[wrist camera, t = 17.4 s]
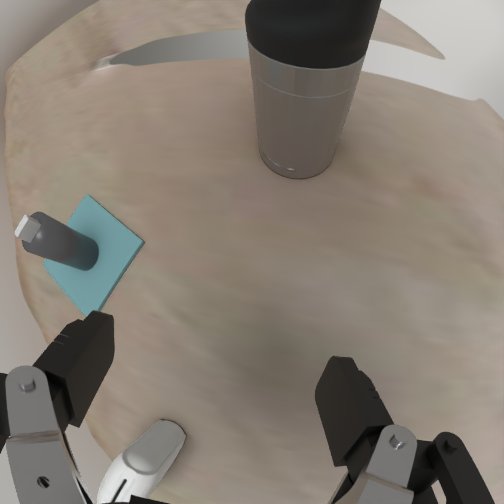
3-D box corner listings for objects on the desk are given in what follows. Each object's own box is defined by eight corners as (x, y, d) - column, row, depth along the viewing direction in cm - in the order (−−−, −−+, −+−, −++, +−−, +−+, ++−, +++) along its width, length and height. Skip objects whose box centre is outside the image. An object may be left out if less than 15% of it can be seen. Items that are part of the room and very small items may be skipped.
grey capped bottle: (86, 232, 33) (25, 197, 21) (104, 250, 32) (40, 219, 20) (69, 257, 32) (4, 231, 21) (86, 277, 31) (18, 256, 20)
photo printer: (160, 483, 26) (119, 535, 14) (132, 465, 27) (82, 509, 15) (193, 432, 28) (153, 485, 15) (161, 412, 28) (107, 454, 16)
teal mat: (89, 195, 35) (86, 193, 34) (144, 242, 32) (142, 241, 32) (45, 265, 33) (42, 264, 32) (93, 321, 31) (90, 321, 30)
